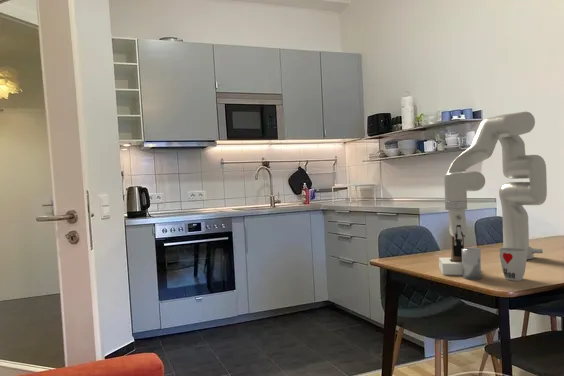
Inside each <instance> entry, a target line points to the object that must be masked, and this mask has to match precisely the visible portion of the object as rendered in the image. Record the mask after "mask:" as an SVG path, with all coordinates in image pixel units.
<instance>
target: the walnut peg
mask: <svg viewBox="0 0 564 376" xmlns="http://www.w3.org/2000/svg"><path fill="white" fill-rule="evenodd" d="M449 234H450V233H449ZM462 234H463V233H462ZM455 237H457V235H455ZM462 241H463V248H465V243H464V242H465V237H464V236H463V235H462ZM453 245H454V237H453V236H452V235H451V234H450V258H451V262H462V256H454V246H453Z"/></svg>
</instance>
